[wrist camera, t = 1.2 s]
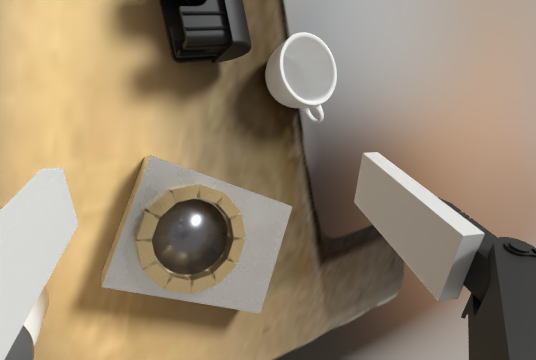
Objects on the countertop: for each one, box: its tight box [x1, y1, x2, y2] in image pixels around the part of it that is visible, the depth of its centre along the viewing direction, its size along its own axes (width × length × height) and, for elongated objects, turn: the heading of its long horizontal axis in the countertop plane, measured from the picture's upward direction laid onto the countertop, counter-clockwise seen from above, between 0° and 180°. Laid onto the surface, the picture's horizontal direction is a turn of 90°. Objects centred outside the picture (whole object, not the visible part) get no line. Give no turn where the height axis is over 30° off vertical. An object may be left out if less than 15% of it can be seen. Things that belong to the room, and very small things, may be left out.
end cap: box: [159, 0, 252, 63], centre depth 32 cm, size 10×7×7 cm
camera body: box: [101, 155, 292, 313], centre depth 33 cm, size 16×12×6 cm
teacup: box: [265, 32, 337, 123], centre depth 38 cm, size 10×8×5 cm
